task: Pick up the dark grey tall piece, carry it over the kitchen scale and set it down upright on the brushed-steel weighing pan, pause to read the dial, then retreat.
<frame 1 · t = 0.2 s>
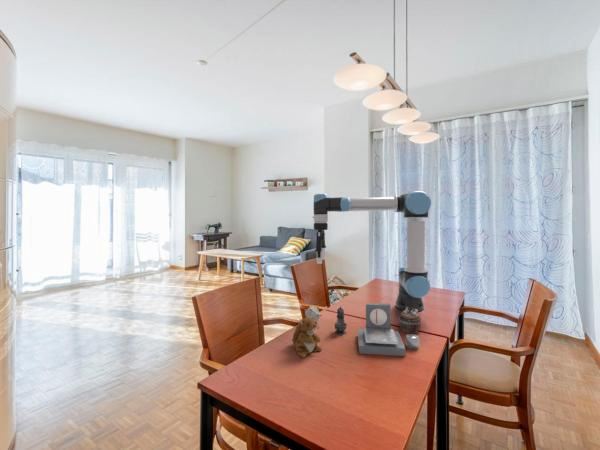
hand: (320, 261, 158), 28 cm above the table, fingers open, 13 cm apart
cupcake: (409, 329, 134), on the table
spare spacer: (412, 346, 118), on the table
stuffed squirrel: (304, 349, 116), on the table
scale base: (379, 345, 119), on the table
pan: (380, 336, 117), point 4 cm above the table, slide at -1.0 cm
game die: (312, 322, 144), on the table
dark grey tall piece: (340, 332, 132), on the table
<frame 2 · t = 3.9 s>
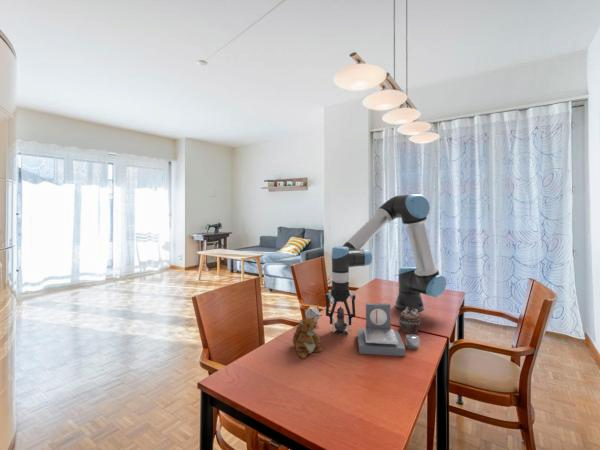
hand: (340, 331, 132), 0 cm above the table, fingers closed on dark grey tall piece, 6 cm apart
dark grey tall piece: (340, 332, 132), on the table, touching gripper
everything else where it was.
when the fingers open (8 cm above the table, at t = 8.0 s): dark grey tall piece drops 2 cm, resting on pan.
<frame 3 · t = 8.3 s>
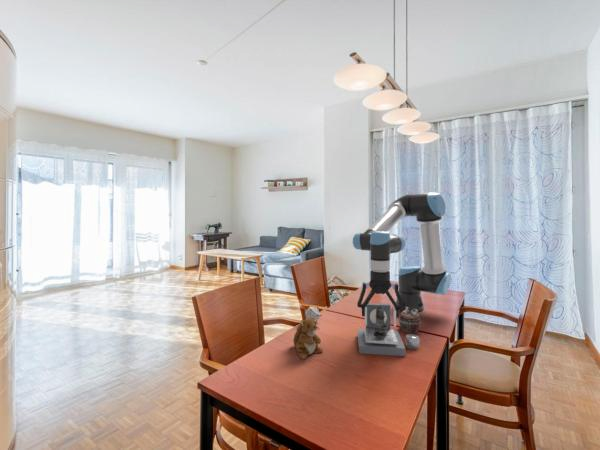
hand: (380, 324, 117), 9 cm above the table, fingers open, 10 cm apart
pan: (380, 336, 117), point 4 cm above the table, slide at -1.1 cm, touching dark grey tall piece
dark grey tall piece: (380, 334, 117), point 5 cm above the table, touching pan
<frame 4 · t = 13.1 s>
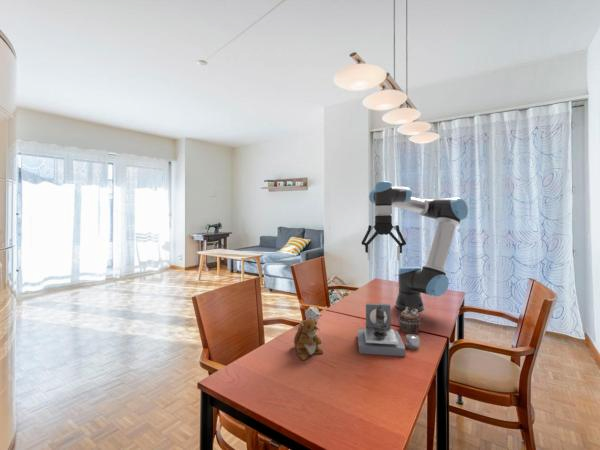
hand: (383, 259, 137), 32 cm above the table, fingers open, 13 cm apart
at the end: dark grey tall piece inside the target area on the pan (0.0 cm from its centre), point 6.0 cm above the pan's base; dark grey tall piece tilted 0°; the gripper is holding nothing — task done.
